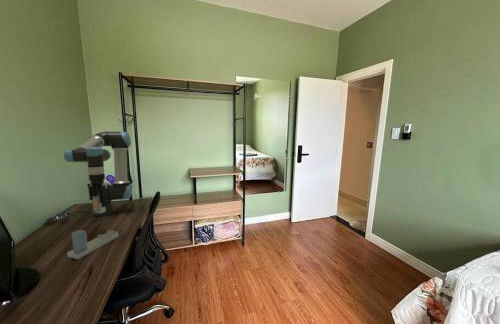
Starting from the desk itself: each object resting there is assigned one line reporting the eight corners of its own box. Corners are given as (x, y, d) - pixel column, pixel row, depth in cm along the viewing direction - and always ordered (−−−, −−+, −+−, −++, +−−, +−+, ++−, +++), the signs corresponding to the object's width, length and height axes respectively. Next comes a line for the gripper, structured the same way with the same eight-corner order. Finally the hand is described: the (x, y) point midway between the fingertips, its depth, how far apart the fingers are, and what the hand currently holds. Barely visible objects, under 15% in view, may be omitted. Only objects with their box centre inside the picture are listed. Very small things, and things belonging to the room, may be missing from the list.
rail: (109, 234, 129) (108, 216, 127) (118, 236, 127) (117, 217, 126) (67, 257, 106) (64, 234, 104) (78, 259, 104) (75, 236, 103)
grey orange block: (100, 210, 126) (99, 194, 125) (105, 211, 125) (104, 195, 124) (93, 213, 122) (91, 197, 120) (98, 214, 121) (96, 197, 119)
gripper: (113, 173, 122) (116, 211, 125) (91, 171, 126) (95, 208, 129) (101, 175, 115) (105, 215, 118) (79, 173, 119) (82, 212, 122)
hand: (100, 211), depth 124 cm, fingers closed on grey orange block, 4 cm apart
